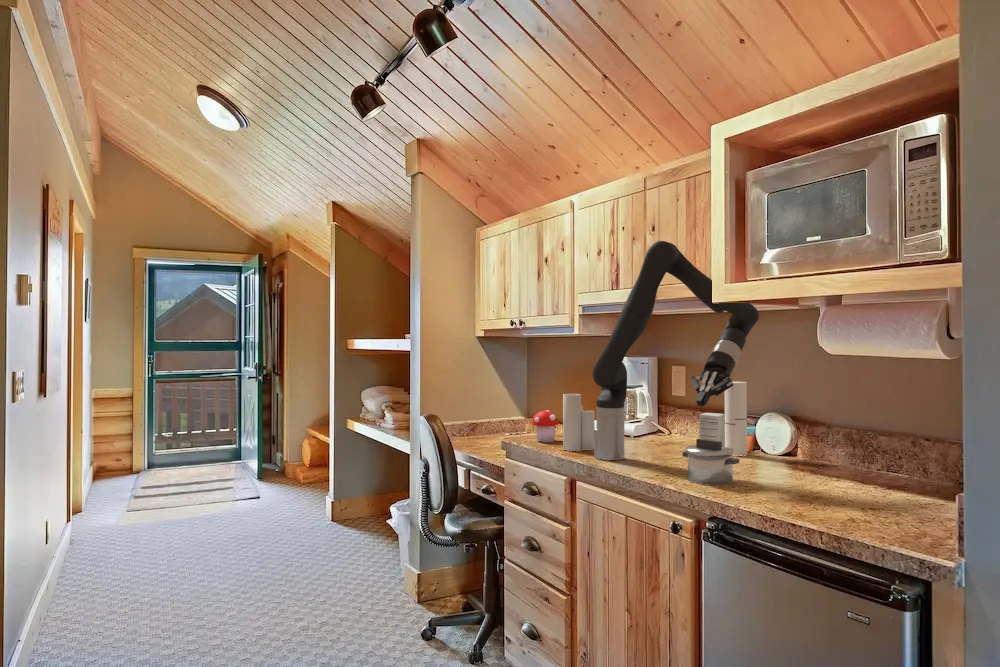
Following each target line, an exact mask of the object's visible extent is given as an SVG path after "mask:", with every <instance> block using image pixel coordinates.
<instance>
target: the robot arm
mask: <svg viewBox="0 0 1000 667" xmlns="http://www.w3.org/2000/svg"><path fill="white" fill-rule="evenodd" d="M648 247H649V248H647V250H646V254H645V256H644V259H643V262H642V265H641V267H640V271H639V274H638V276H637V279H636V281H635V283H634V285H633V286H632V289H631V291H630V292H629V295H628V297H627V299H626V301H625V302H624V304H623V307H622V309H621V312H620V314H619V316H618V319H617V321H616V323H615V325H614V327H613V329H612V332H611V334H610V337H609V339H608V341H607V343H606V345H605V346H604V348H603V351H602V352H601V354H600V355H599V356H598V359H597V360H596V361H595V364H594V366H593V368H592V379H593V380H594V383H595V384H596V385H597V386H599V387H601V390H600V394H599V395H598V397H597V398H596V401H595V402H596V410H595V411H596V412H595V413H596V428H595V429H594V450H593V454H594V455H593V457H594V458H596V459H598V460H601V459H602V460H601V461H610V460H615V461H623V460H625V402H626V399H627V390H628V371H627V368H626V365H625V363H624V362H623V361H624V359H625V357H626V354H627V353H628V352H629V350H630V349H631V348H632V346H633V345H634V344H635V342H637V340H638V339H639V338H640V336H642V334H643V333H644V331H645V330H646V327H647V325H648V323H649V321H650V319H651V317H652V315H653V312H654V308H655V303H656V299H657V293H658V289H659V286H660V284H661V283H662V281H663V278H664V277H665V275H666V274H667V273H668V274H669V275H671V276H673V277H674V278H676V279H678V280H679V281H680V282H681V283H682V284H683V285H685V286H686V288H688V290H689V291H691V293H693V295H695V297H696V298H697V299H699V301H701V302H702V303H703V304H704V305H705V306H706V307H708V308H709V309H710V310H712V311H713V312H714V313H716V314H719V315H720V314H722V313H724V312H727V313H729V314H731V316H730V317H729V319H728V320H727V323H726V325H725V326H724V330H723V332H722V333H721V335H720V337H719V338H718V341H717V343H716V344H715V346H714V347H713V349H712V350H711V352H710V354H709V356H708V357H707V360H706V362H705V364H704V368H703V370H702V371H701V372H700V374H699V375H698V376H695V375H692V376H691V377H690V379H691V381H692V386H693V387H694V389H695V391H696V392H697V394H698V395H697V396H696V398H695V403H696V404H697V405H698V407H705V405H707V404H708V401H709V400H710V398H712V397H713V396H715V397H718V396H719V395H721V394H723V393H725V391H726V390H727V389H729V388H730V387H732V386H733V385H734V384H733V382H734V381H733V380H732V378H731V374H732V373H733V371H734V368H735V367H736V366H737V362H738V360H739V359H740V355H741V352H742V350H743V348H744V347H745V345H746V341H747V336H748V335H749V333H750V332H751V330H752V329H753V327H755V325H756V324H757V322H758V321H759V320H760V313H759V311H758V309H757V307H755V306H754V305H753V304H752V303H750V302H748V303H719V304H713V303H712V280H713V279H712V278H710V277H709V276H707V275H706V274H705V273H703V272H702V271H701V270H699V268H697V267H696V266H695V265H693V264H692V262H690V261H689V259H687V258H686V256H685V255H684V254H683V253H682V252H681V251H680V249H678V247H677V246H676V245H675V244H674V243H672V242H669V241H666V240H658V241H657V240H656V241H655V242H654V243H652V244H651V245H650V246H648Z"/></svg>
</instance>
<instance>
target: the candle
mask: <svg viewBox="0 0 1000 667" xmlns="http://www.w3.org/2000/svg"><path fill="white" fill-rule="evenodd" d="M594 429H596V428H595V411H594V410H584V406H583V405H582V394H580V393H564V394H562V450H563V451H564V450H567V451H566V452H571V451H576V452H579V451H578V450H581V449H583V450H593V449H594ZM583 450H581V451H583ZM593 451H594V450H593Z"/></svg>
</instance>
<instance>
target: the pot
mask: <svg viewBox="0 0 1000 667" xmlns="http://www.w3.org/2000/svg"><path fill="white" fill-rule="evenodd" d="M682 457H685V458H687V480H688V479H689V480H690V481H689V480H688V481H689V482H691V481H692V482H691V483H694V482H696V483H695V484H698V483H702V484H701V485H704V484H709V485H708V486H726V485H725V484H728V485H731V484H733V483H734V480H733V479H734V473H733V472H734V468H733V465H737V464H740V458H739V457H738V458H737V457H734V456H733V455H731V456H722V457H710V456H698V455H692V454H688V453H686V452H685V451H683V452H682ZM732 482H733V483H732ZM730 483H731V484H730Z"/></svg>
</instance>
